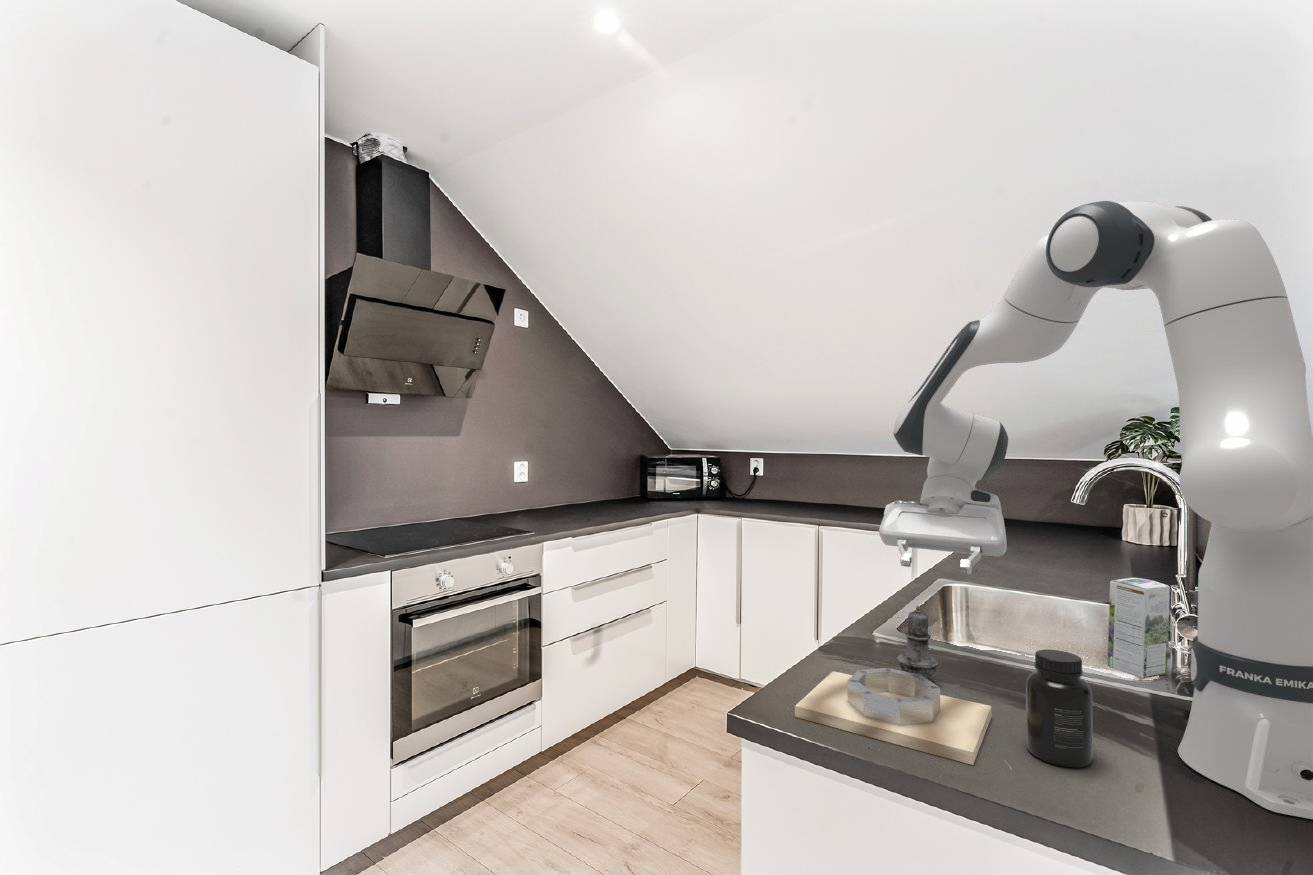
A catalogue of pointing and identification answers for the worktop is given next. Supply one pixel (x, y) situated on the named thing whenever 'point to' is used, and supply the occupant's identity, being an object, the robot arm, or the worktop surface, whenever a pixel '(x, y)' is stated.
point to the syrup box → (1138, 627)
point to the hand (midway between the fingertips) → (934, 568)
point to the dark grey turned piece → (918, 647)
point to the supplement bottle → (1059, 710)
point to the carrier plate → (946, 737)
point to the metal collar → (890, 709)
